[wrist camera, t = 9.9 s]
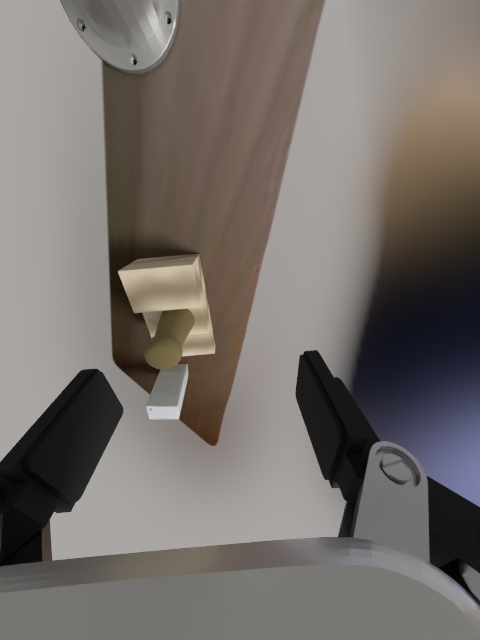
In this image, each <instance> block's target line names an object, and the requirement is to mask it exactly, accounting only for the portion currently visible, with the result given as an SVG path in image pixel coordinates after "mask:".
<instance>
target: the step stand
mask: <svg viewBox="0 0 480 640" xmlns="http://www.w3.org/2000/svg"><path fill="white" fill-rule="evenodd" d="M118 274H119V276H120V279H121V281H122V284H123V286H124V289H125V291H126V294H127V296H128V299H129V302H130V304H131V307H132V309H133V312H134V313H143V316H144V319H145V321H146V324H147V327H148V329H149V332H150V335H151V338H152V337H154V336H155V333H156V329H157V326H158V323H159V320H160V317H161V314H162V312H163V311H164V310H176V309H189V310H190V311H191V312H192V314H193V316H194V319H195V322H194V326H193V327H192V329H191V331H190V333H189V334H188V336H187V338H186V339H185V341H184V343H183V345H182V356H192V355H203V354H215V342H214V336H213V330H212V324H211V319H210V313H209V307H208V301H207V296H206V290H205V284H204V278H203V273H202V267H201V261H200V255H199V254H189V255H178V256H166V257H155V258H144V259H137V260H135V261H134V262H132V263H130V264H129V265H127V266H125V267H124V268H122V269H120V270H119V271H118Z"/></svg>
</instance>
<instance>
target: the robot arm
mask: <svg viewBox="0 0 480 640" xmlns="http://www.w3.org/2000/svg"><path fill="white" fill-rule="evenodd" d="M60 1H61V3H62V6H63V8H64V10H65V12H66V14H67V16H68V18H69V20H70V21H71V23H72V24H73V26H74V27H75V29H76V31H77V32H78V34H79V35H80V37H81V38H82V39H83V40H84V41H85V43H86V44H87V45H88V46H89V47H90V48H91V50H92V51H93V52H94V53H95V54H96V55H97V56H98V57H99V58H100V59H102V60H103V61H104V62H106V63H107V64H108V65H109V66H111V67H113V68H115V69H117V70H119V71H121V72H125V73H129V74H143V73H146V72H149V71H151V70H153V69H154V68H156V67H157V66H159V64H160V63H161V62H162V61H163V60H164V59H165V58H166V56H167V54H168V52H169V51H170V49H171V47H172V44H173V41H174V38H175V35H176V31H177V25H178V19H179V0H60ZM169 21H171V24H168V22H169ZM85 28H86V29H85ZM84 29H85V31H84ZM135 62H137V64H136V65H134V63H135ZM296 398H297V402H298V405H299V408H300V411H301V413H302V417H303V420H304V422H305V425H306V428H307V431H308V434H309V437H310V440H311V443H312V446H313V448H314V451H315V454H316V457H317V460H318V463H319V466H320V469H321V472H322V474H323V477H324V478H325V480H329V482H330V485H331V487H332V488H340V490H341V492H342V495H343V498H344V500H346V505H345V509H344V514H343V518H342V522H341V526H340V531H339V535H338V537H320V538H305V539H291V540H274V541H263V542H252V543H239V544H228V545H217V546H205V547H194V548H182V549H171V550H161V551H150V552H139V553H128V554H118V555H107V556H97V557H86V558H76V559H66V560H55V561H52V552H51V537H50V536H51V534H50V518H51V516H52V514H53V512H56V513H61V512H71V510H72V508H73V506H74V504H75V502H77V501H78V500H79V499H80V498H81V496H82V494H83V492H84V490H85V488H86V486H87V484H88V482H89V480H90V478H91V476H92V474H93V472H94V470H95V468H96V466H97V464H98V462H99V460H100V458H101V456H102V454H103V452H104V450H105V448H106V446H107V444H108V442H109V440H110V438H111V436H112V434H113V432H114V430H115V428H116V426H117V424H118V422H119V420H120V418H121V416H122V414H123V407H122V405H121V403H120V402H119V400H118V398H117V396H116V395H115V393H114V391H113V390H112V388H111V386H110V384H109V383H108V381H107V379H106V378H105V376H104V374H103V373H102V372H100V371H99V370H98V369H87V370H82V371H80V372H79V373H78V374H77V376H76V377H75V378H74V379H73V380H72V381H71V382H70V383H69V384H68V386H67V387H66V388H65V389H64V390H63V391H62V393H61V394H60V395H59V396H58V397H57V398H56V399H55V401H54V402H53V403H52V404H51V405H50V406H49V407H48V408H47V410H46V411H45V412H44V413H43V414H42V415H41V416H40V418H39V419H38V420H37V421H36V422H35V423H34V424H33V425H32V427H31V428H30V429H29V430H28V431H27V432H26V433H25V435H24V436H23V437H22V438H21V439H20V440H19V442H18V443H17V444H16V445H15V446H14V447H13V448H12V450H11V451H10V452H9V453H8V454H7V455H6V456H5V457H4V458H3V460H2V461H1V462H0V640H480V507H478V506H477V505H475V504H473V503H472V502H470V501H468V500H467V499H465V498H463V497H461V496H460V495H458V494H457V493H454V492H453V491H452V490H450V489H448V488H446V487H445V486H443V485H441V484H440V483H438V482H436V481H435V480H433V479H431V478H430V477H428V476H426V473H425V471H424V469H423V467H422V465H421V464H420V463H419V462H418V460H417V459H416V458H415V457H414V456H413V455H412V454H411V453H410V452H408V451H407V450H406V449H404V448H402V447H401V446H399V445H397V444H394V443H391V442H385V441H382V442H380V440H379V439H378V437H377V436H376V434H375V432H374V431H373V429H372V428H371V426H370V424H369V423H368V421H367V420H366V418H365V417H364V415H363V413H362V412H361V410H360V409H359V407H358V406H357V404H356V402H355V401H354V399H353V398H352V396H351V395H350V393H349V391H348V390H347V388H346V387H345V385H344V383H343V382H342V381H341V380H340V379H339V378H338V377H335V378H334V377H333V375H332V374H331V372H330V370H329V369H328V367H327V365H326V364H325V362H324V360H323V359H322V357H321V355H320V354H319V352H318V351H317V350H315V351H305V352H304V354H303V355H300V359H299V368H298V377H297V385H296Z"/></svg>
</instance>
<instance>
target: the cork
mask: <svg viewBox="0 0 480 640" xmlns="http://www.w3.org/2000/svg"><path fill="white" fill-rule="evenodd" d="M194 322H195V319H194V316H193V314H192V312H191V311H190V310H189V309H176V310H164V311H163V312H162V314H161V317H160V320H159V323H158V326H157V329H156V333H155V336H154V337H152V338H151V339H150V340H149V341H148V342H147V343H146V345H145V347H144V358H145V360H146V362H147V363H148V364H149V365H150V366H152V367H154V368H156V369H161V370H165V369H170V368H172V367H174V366H175V365H177V364H178V362H179V361H180V359H181V357H182V345H183V343H184V341H185V339H186V338H187V336H188V334H189V333H190V331H191V329H192V327H193V326H194Z"/></svg>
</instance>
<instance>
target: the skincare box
mask: <svg viewBox="0 0 480 640" xmlns="http://www.w3.org/2000/svg"><path fill="white" fill-rule="evenodd" d="M187 380H188V364H177V365H175V366H174V367H172V368H170V369H165V370H161V369H160V372H159V375H158V377H157V379H156V382H155V384H154V387H153V390H152V392H151V395H150V397H149V400H148V402H147V404H146V409H147V412H148V416H149V419H179V416H180V411H181V407H182V402H183V398H184V393H185V389H186V384H187Z"/></svg>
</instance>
